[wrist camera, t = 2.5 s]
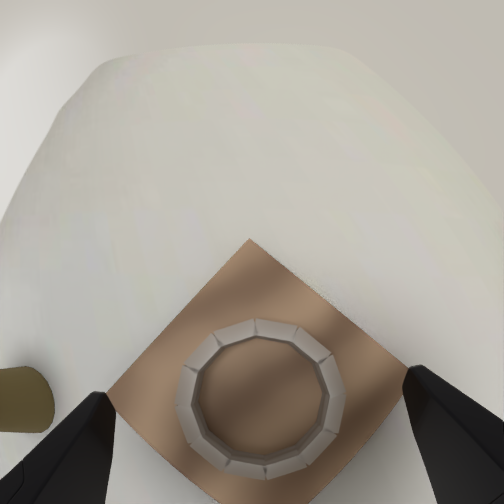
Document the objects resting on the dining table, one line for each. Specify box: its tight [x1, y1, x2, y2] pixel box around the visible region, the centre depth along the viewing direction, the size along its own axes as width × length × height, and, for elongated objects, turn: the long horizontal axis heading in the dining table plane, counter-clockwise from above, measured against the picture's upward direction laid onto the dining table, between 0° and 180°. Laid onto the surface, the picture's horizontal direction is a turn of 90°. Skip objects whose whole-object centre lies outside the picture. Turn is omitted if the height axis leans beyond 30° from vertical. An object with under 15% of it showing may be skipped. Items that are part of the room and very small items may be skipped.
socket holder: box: [106, 239, 408, 504], centre depth 19 cm, size 16×16×4 cm
